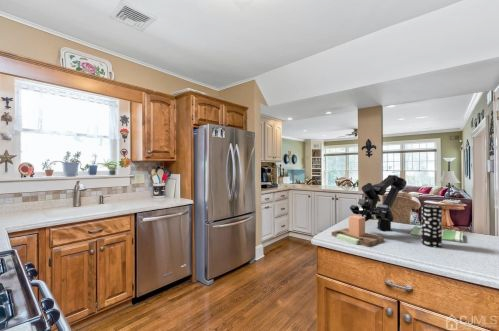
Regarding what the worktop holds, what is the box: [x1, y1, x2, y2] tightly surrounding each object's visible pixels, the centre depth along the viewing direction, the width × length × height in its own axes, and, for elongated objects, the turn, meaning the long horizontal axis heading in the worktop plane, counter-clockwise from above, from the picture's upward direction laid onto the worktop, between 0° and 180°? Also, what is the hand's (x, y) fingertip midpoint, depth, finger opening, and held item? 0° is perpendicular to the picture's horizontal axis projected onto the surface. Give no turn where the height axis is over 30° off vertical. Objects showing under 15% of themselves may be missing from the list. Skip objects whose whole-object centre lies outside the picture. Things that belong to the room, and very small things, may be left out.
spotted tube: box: [420, 204, 443, 249], centre depth 122 cm, size 8×8×20 cm
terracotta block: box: [348, 214, 366, 237], centre depth 133 cm, size 6×6×10 cm
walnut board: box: [331, 227, 384, 248], centre depth 133 cm, size 15×22×2 cm
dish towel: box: [409, 225, 465, 243], centre depth 138 cm, size 18×23×3 cm
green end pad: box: [336, 234, 359, 245], centre depth 129 cm, size 3×12×2 cm, turn 32°
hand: (360, 223), depth 135 cm, fingers closed, pressing on terracotta block
